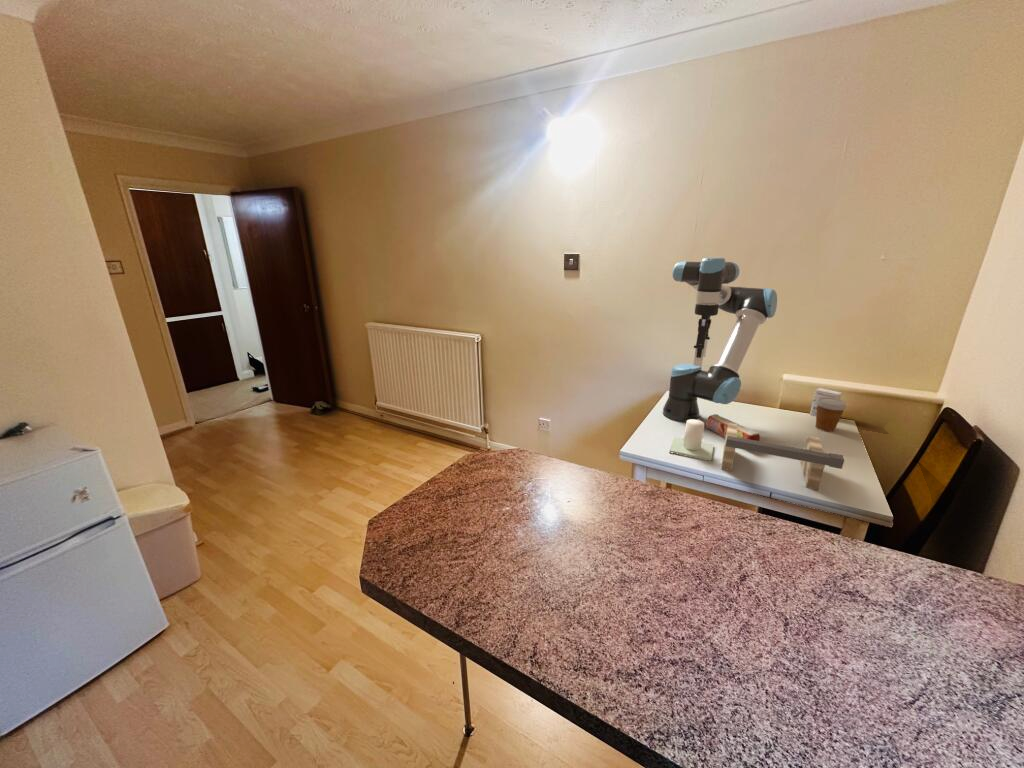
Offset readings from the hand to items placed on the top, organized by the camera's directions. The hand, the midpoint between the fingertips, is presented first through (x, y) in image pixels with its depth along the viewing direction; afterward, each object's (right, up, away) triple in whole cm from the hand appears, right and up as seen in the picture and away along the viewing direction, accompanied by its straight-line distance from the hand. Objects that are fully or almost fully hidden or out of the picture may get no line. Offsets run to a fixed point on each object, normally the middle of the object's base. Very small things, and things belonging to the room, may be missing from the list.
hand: (699, 361), depth 149 cm
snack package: (+17, -30, +10) cm, 36 cm away
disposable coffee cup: (+59, -27, +15) cm, 66 cm away
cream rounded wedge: (-2, -32, +1) cm, 32 cm away
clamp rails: (+18, -37, -11) cm, 42 cm away
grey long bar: (+13, -31, -25) cm, 42 cm away
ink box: (+66, -23, +27) cm, 75 cm away
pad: (-2, -33, +1) cm, 33 cm away
